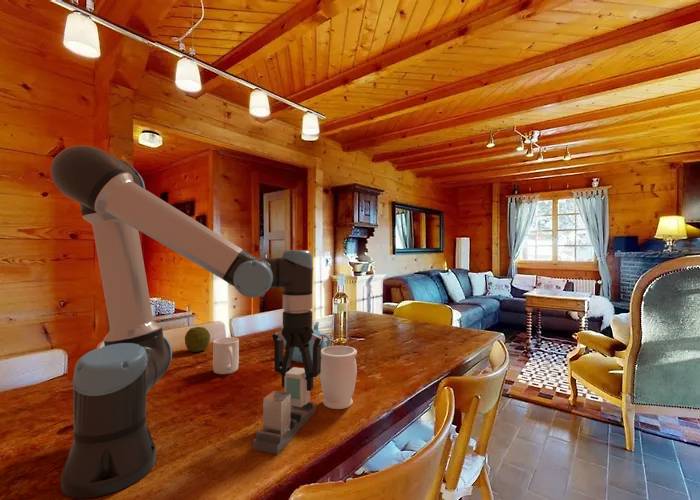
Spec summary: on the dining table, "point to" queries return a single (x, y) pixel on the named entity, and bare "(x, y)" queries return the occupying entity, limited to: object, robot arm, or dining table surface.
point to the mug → (225, 355)
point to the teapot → (297, 354)
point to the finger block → (295, 385)
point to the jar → (338, 376)
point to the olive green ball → (197, 339)
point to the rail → (277, 439)
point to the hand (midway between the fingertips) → (297, 400)
